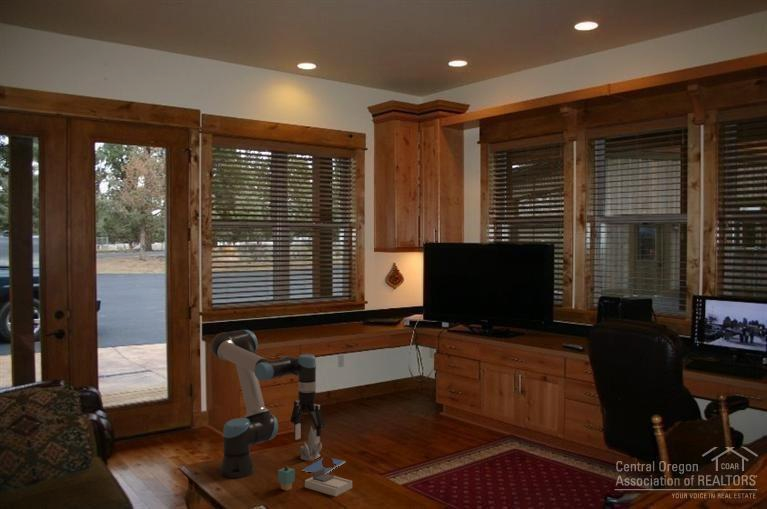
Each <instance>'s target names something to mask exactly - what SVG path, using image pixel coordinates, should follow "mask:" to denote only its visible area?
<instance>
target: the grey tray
mask: <svg viewBox="0 0 767 509" xmlns="http://www.w3.org/2000/svg"><path fill="white" fill-rule="evenodd" d="M332 476H333V478H332V479H330V480H328V481H326V482H321V481H317V480H314V479H313V476H311V477H309V478H307V479H305V480H304V488H306V489H310V490H311V491H312V490H313V491H316V492H318V493H319V492H320V493H323V494H327V495H330V496H333V497H338V496H340V495H341V494H344V493H345V492H347V491H349V490H351V489H353V480H350V479H346V478H343V477H339V476H336V475H332Z"/></svg>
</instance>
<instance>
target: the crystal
mask: <svg viewBox="0 0 767 509" xmlns="http://www.w3.org/2000/svg"><path fill="white" fill-rule="evenodd" d="M307 437H308V438H307V443H306V441H304V444H303V446H300V447H299V450H300V452H301V455H300V457H299V458H300V459H301V460H304V461H315V460H314V459H317V458H319V457H320V456H321V454H320V452H321V450H322V448H323V445H322V442H320V443H318V444H314V428H313V426H310V430H309V433H308V436H307ZM319 459H320V458H319ZM317 460H318V459H317Z"/></svg>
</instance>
